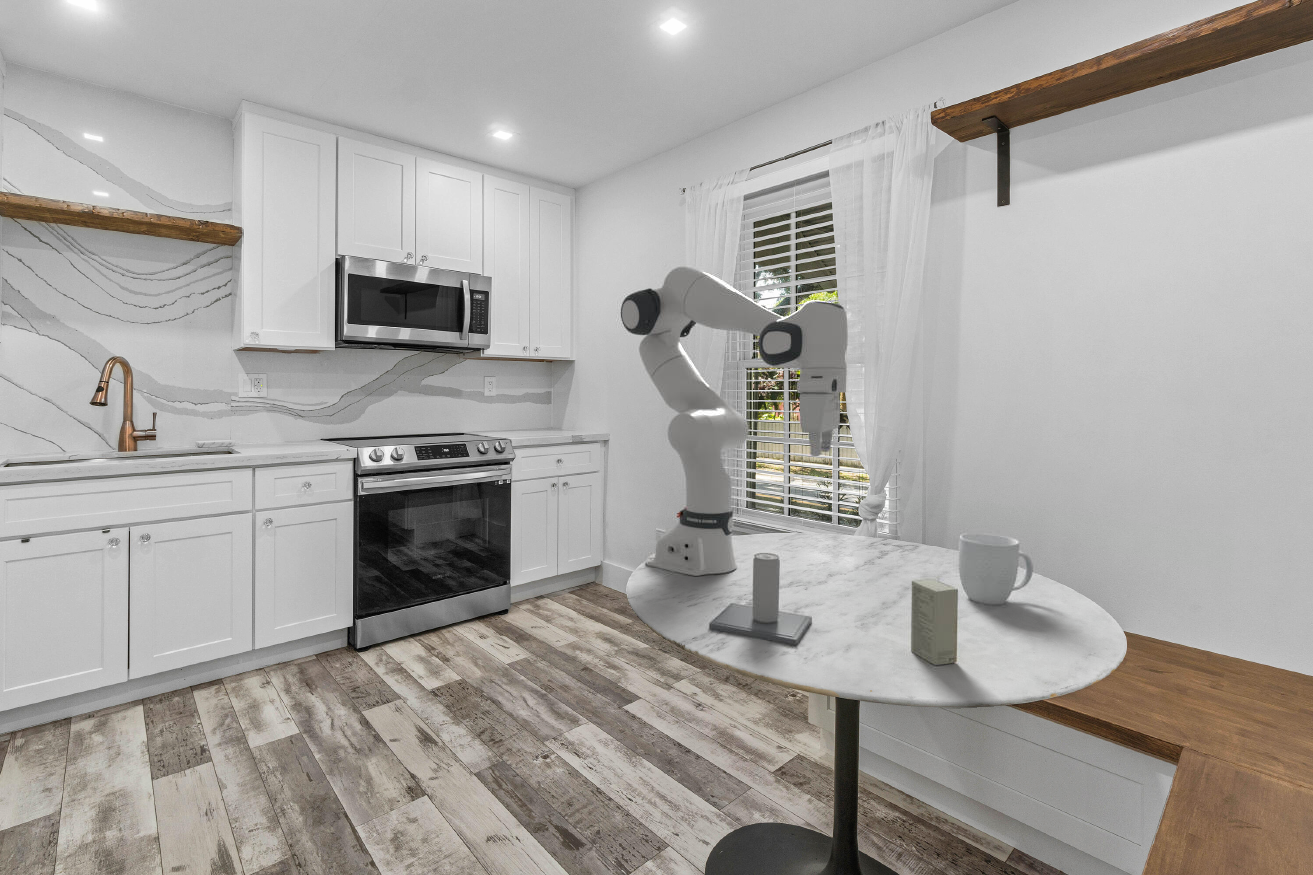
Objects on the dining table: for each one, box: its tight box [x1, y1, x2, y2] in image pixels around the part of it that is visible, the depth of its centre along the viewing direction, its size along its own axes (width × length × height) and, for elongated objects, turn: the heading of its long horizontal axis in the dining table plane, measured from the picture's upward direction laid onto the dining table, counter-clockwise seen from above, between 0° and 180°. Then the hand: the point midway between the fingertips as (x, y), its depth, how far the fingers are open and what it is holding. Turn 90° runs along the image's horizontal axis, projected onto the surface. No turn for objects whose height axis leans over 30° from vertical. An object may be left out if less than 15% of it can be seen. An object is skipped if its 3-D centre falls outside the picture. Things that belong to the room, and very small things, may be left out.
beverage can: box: [752, 552, 781, 624], centre depth 113 cm, size 5×5×12 cm
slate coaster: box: [708, 602, 813, 646], centre depth 113 cm, size 16×12×1 cm
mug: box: [958, 532, 1034, 606], centre depth 128 cm, size 15×11×13 cm
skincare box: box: [910, 578, 959, 666], centre depth 100 cm, size 6×4×12 cm
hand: (820, 453), depth 121 cm, fingers open, 8 cm apart
